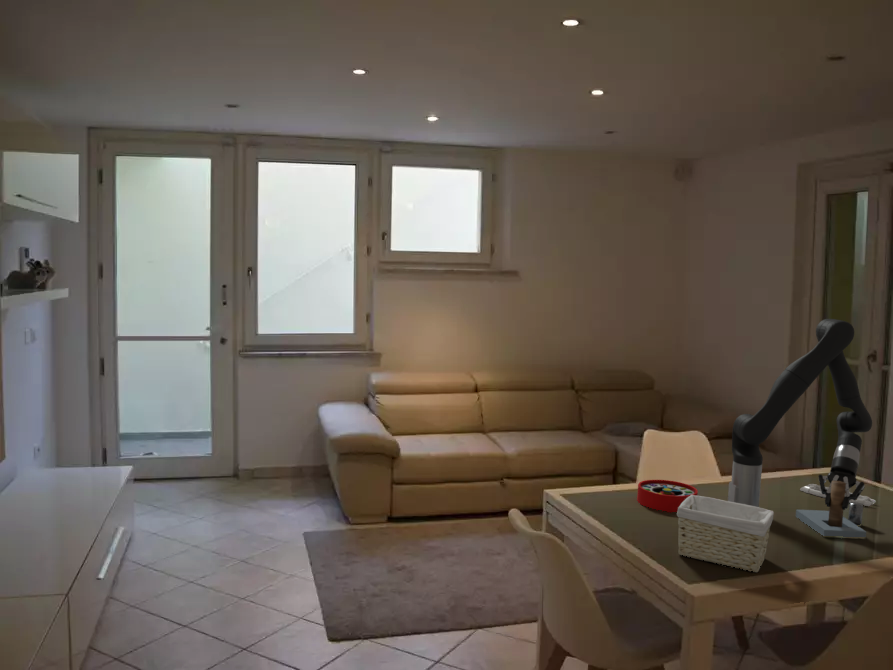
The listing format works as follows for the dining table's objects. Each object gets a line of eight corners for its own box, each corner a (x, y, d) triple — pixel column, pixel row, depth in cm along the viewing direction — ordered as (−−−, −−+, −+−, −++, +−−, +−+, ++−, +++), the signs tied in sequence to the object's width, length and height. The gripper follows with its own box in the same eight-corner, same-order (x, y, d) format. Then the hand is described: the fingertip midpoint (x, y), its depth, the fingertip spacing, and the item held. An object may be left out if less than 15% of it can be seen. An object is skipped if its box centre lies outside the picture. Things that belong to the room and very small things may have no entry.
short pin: (851, 526, 254) (853, 505, 254) (845, 522, 258) (847, 501, 258) (863, 526, 254) (865, 505, 254) (857, 522, 258) (859, 502, 258)
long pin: (831, 527, 246) (835, 484, 245) (825, 523, 250) (829, 480, 249) (844, 527, 246) (848, 484, 245) (838, 523, 250) (842, 480, 249)
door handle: (868, 510, 274) (796, 492, 292) (878, 505, 281) (808, 488, 299) (868, 502, 274) (797, 485, 292) (879, 497, 280) (808, 481, 299)
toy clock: (643, 494, 261) (633, 478, 281) (642, 511, 262) (632, 493, 281) (704, 498, 260) (690, 481, 280) (703, 515, 260) (688, 497, 280)
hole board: (823, 537, 242) (824, 529, 242) (795, 516, 262) (796, 509, 261) (865, 539, 242) (866, 531, 242) (834, 518, 262) (834, 511, 261)
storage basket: (771, 559, 222) (775, 508, 221) (761, 577, 208) (766, 523, 207) (686, 540, 235) (690, 492, 233) (672, 557, 221) (675, 506, 219)
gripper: (820, 451, 256) (810, 496, 248) (869, 459, 248) (860, 505, 239) (822, 464, 261) (812, 508, 252) (870, 472, 253) (861, 518, 244)
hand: (835, 506), depth 246 cm, fingers closed on long pin, 4 cm apart
